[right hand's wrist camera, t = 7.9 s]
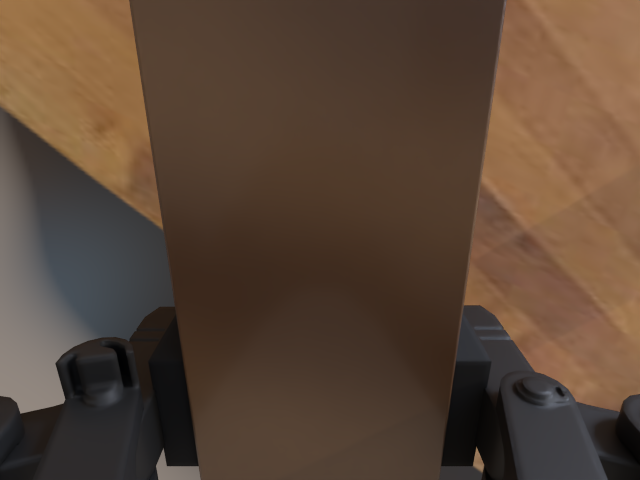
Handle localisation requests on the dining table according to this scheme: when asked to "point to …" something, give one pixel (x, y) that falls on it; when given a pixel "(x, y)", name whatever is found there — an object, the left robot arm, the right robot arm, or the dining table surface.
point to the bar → (318, 221)
